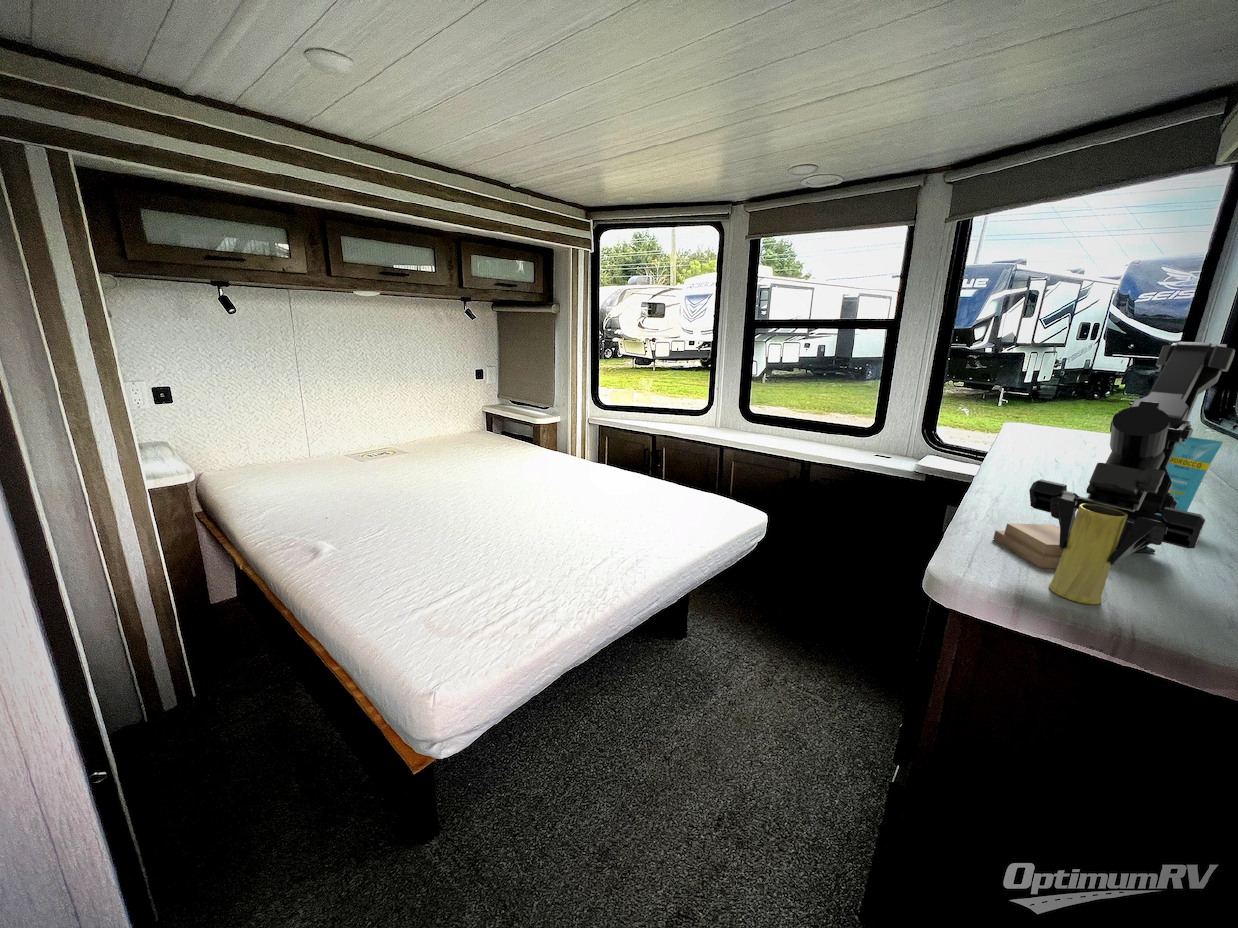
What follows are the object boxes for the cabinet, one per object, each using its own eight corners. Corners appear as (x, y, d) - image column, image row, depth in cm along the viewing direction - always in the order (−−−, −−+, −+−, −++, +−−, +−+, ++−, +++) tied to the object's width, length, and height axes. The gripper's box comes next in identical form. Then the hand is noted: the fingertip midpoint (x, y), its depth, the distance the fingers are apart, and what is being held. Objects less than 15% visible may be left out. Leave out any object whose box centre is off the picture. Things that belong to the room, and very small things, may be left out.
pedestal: (1049, 541, 94) (1055, 522, 92) (1102, 569, 83) (1110, 548, 82) (992, 539, 94) (998, 521, 92) (1039, 567, 83) (1045, 546, 82)
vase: (1038, 584, 78) (1064, 502, 73) (1072, 583, 78) (1100, 502, 74) (1075, 605, 72) (1106, 518, 68) (1112, 604, 72) (1145, 517, 68)
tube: (1136, 517, 108) (1166, 433, 102) (1147, 514, 109) (1177, 432, 104) (1183, 530, 101) (1218, 442, 95) (1193, 527, 103) (1229, 440, 97)
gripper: (1049, 431, 78) (1006, 507, 75) (1230, 459, 63) (1185, 556, 60) (1051, 470, 84) (1011, 542, 81) (1215, 504, 70) (1174, 592, 67)
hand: (1085, 555), depth 72 cm, fingers closed on vase, 5 cm apart
